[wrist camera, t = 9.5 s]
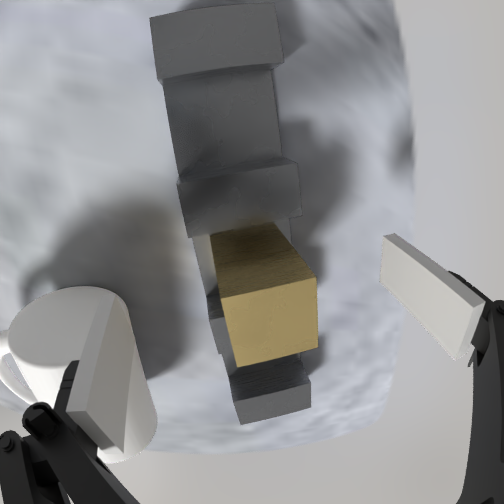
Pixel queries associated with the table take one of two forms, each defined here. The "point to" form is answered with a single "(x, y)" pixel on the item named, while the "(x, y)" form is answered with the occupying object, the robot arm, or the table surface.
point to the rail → (231, 164)
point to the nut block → (265, 294)
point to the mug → (70, 358)
